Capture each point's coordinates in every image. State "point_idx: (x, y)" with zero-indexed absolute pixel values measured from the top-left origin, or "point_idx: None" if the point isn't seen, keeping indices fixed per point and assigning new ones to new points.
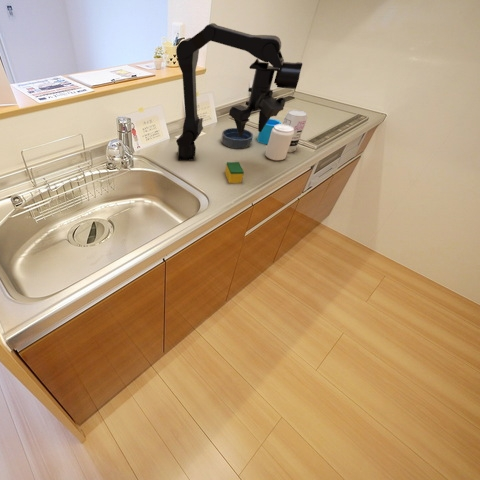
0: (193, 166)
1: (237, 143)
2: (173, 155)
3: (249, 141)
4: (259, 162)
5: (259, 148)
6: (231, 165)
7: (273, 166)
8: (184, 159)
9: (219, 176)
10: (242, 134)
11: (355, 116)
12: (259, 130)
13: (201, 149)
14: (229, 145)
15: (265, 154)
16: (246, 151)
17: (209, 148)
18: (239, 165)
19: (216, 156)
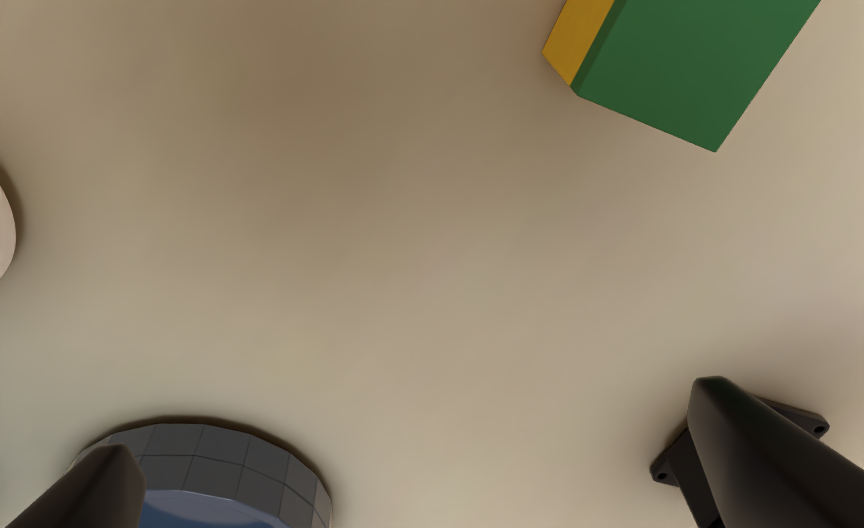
0: (802, 312)
1: (246, 473)
2: None
3: None
4: (148, 156)
5: (18, 381)
6: (736, 55)
7: (6, 5)
8: (792, 412)
9: None
10: (742, 416)
11: None
12: (127, 484)
13: (539, 493)
14: (307, 477)
15: (12, 251)
16: (181, 374)
17: (471, 489)
18: (646, 4)
19: (503, 383)
